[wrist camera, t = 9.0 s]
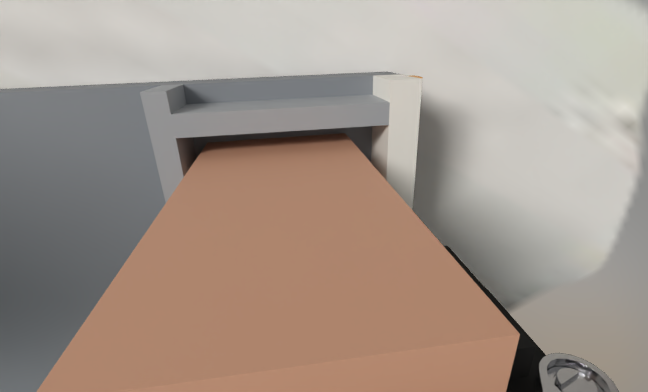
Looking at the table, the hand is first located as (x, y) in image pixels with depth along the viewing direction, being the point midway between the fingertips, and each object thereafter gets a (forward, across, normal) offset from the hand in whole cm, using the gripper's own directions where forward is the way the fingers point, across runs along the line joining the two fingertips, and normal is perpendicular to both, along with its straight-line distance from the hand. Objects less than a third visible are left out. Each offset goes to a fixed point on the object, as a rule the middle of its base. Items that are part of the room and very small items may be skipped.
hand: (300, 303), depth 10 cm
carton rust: (+4, 0, 0) cm, 4 cm away
